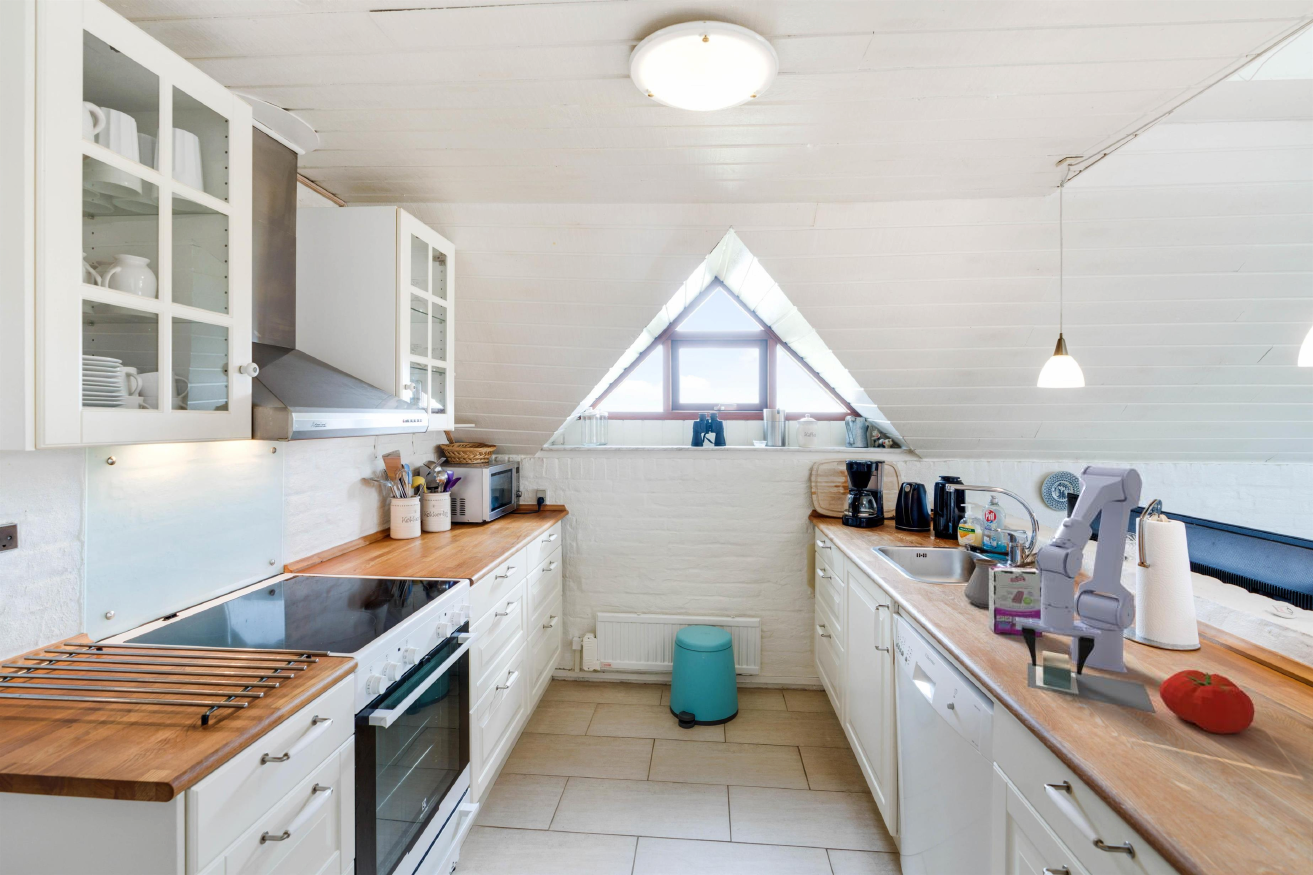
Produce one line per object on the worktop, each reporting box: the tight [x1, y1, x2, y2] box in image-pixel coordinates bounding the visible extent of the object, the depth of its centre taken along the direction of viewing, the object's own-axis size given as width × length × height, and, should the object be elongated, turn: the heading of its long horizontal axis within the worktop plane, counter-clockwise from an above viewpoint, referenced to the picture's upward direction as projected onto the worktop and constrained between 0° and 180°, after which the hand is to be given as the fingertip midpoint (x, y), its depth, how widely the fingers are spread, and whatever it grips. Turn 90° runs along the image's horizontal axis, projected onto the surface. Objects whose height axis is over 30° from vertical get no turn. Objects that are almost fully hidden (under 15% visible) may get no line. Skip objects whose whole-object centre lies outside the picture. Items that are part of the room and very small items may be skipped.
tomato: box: [1158, 669, 1256, 735], centre depth 104 cm, size 13×12×8 cm
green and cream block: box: [1041, 650, 1072, 690], centre depth 121 cm, size 9×5×4 cm, turn 148°
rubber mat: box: [1026, 662, 1156, 714], centre depth 119 cm, size 20×14×1 cm
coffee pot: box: [963, 558, 1036, 608], centre depth 172 cm, size 21×12×15 cm, turn 68°
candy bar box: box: [988, 566, 1043, 637], centre depth 150 cm, size 11×5×16 cm, turn 76°
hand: (1056, 668), depth 121 cm, fingers open, 7 cm apart
